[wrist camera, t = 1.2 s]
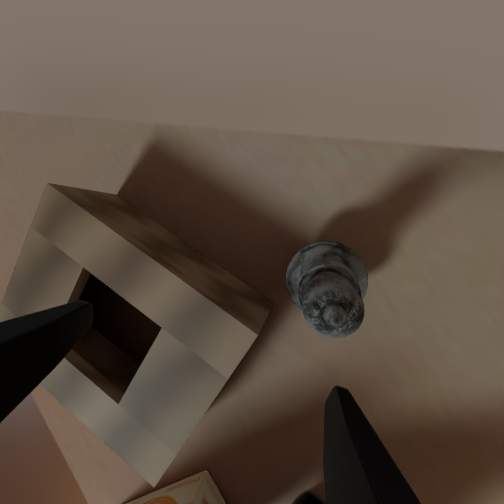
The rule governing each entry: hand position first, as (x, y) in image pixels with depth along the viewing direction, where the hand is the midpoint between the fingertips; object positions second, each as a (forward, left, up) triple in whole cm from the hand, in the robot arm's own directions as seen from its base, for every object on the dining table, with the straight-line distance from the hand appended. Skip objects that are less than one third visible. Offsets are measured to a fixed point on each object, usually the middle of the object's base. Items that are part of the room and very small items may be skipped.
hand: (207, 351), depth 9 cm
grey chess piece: (-4, -3, -15) cm, 15 cm away
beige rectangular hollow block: (+8, +10, -15) cm, 20 cm away
